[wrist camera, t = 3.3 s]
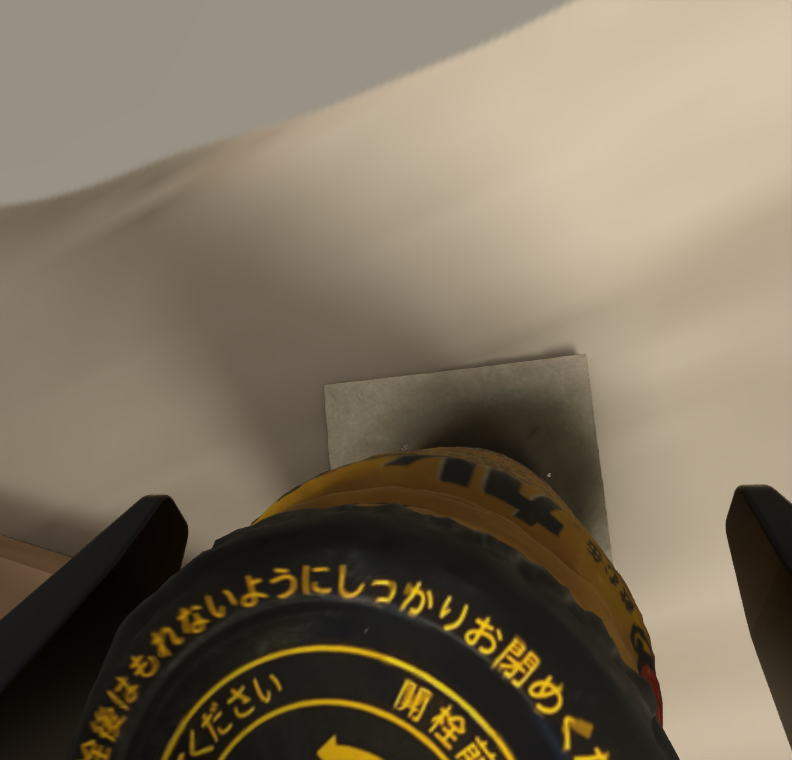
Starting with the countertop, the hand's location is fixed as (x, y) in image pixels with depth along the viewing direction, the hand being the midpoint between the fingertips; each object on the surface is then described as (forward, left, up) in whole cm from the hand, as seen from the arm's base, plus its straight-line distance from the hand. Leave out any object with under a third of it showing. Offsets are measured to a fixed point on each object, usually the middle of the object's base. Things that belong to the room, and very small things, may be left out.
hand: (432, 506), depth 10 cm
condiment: (-1, 0, -7) cm, 7 cm away
